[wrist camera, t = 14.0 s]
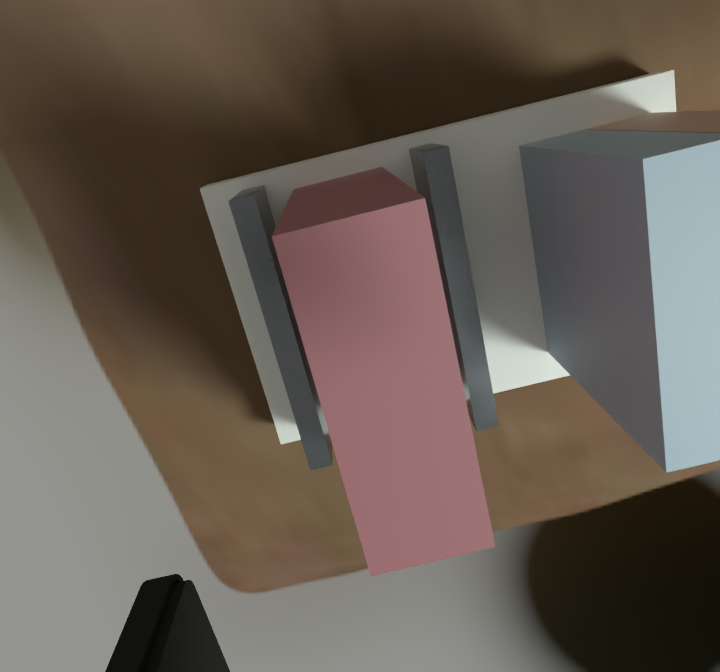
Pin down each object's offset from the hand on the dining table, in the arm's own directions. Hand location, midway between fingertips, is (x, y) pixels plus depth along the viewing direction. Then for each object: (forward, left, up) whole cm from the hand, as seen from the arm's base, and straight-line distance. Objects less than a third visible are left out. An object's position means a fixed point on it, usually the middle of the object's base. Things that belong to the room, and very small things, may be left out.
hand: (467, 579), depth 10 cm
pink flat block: (0, 0, -19) cm, 19 cm away
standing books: (-8, -7, -19) cm, 22 cm away
